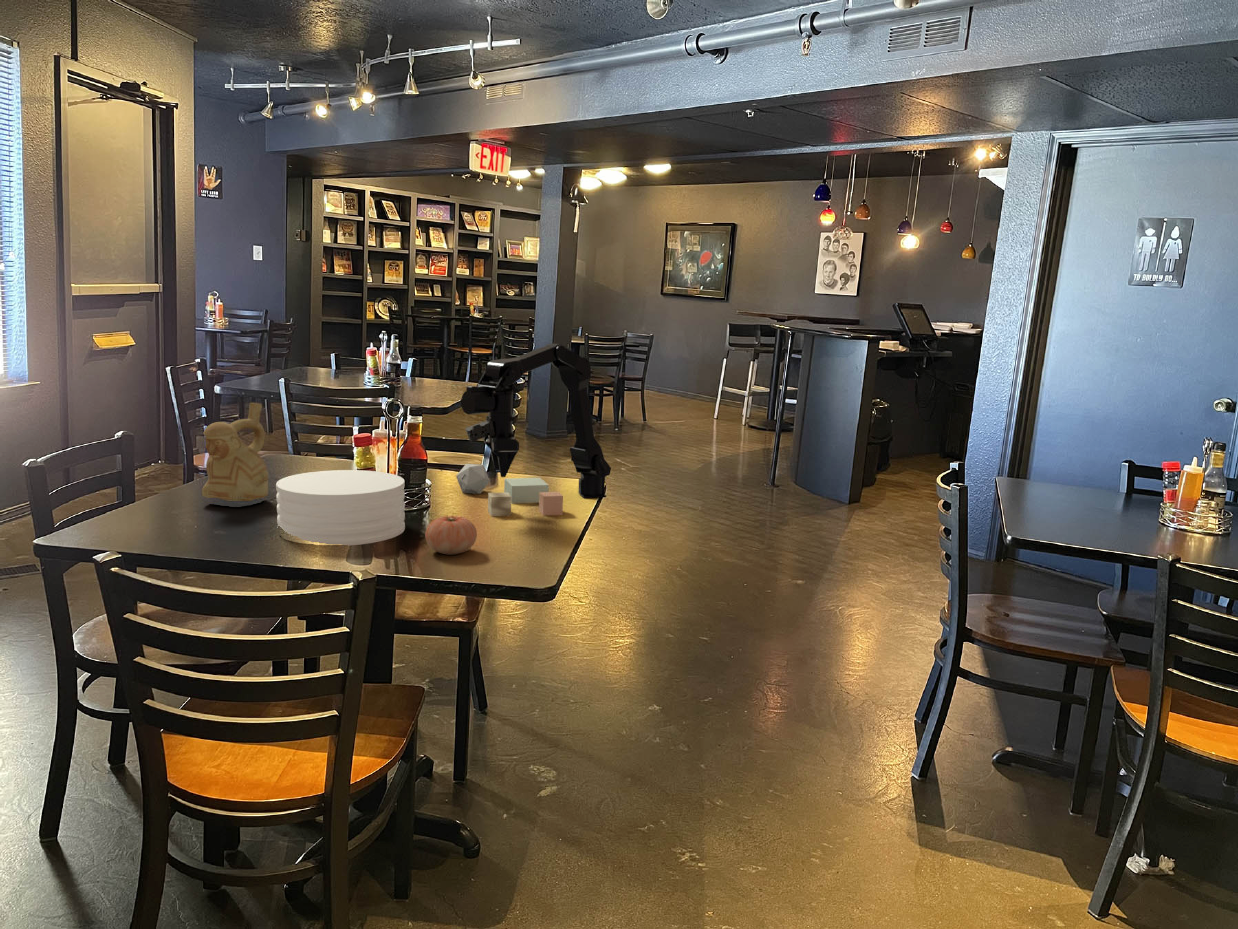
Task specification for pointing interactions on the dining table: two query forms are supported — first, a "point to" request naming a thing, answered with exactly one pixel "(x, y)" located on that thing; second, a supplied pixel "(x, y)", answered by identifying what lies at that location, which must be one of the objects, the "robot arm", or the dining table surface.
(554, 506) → the terracotta cube
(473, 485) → the die
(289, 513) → the plate stack
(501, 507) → the birch cube
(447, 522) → the pumpkin
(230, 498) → the ceramic vessel
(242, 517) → the dining table surface
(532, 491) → the sage block
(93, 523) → the dining table surface
